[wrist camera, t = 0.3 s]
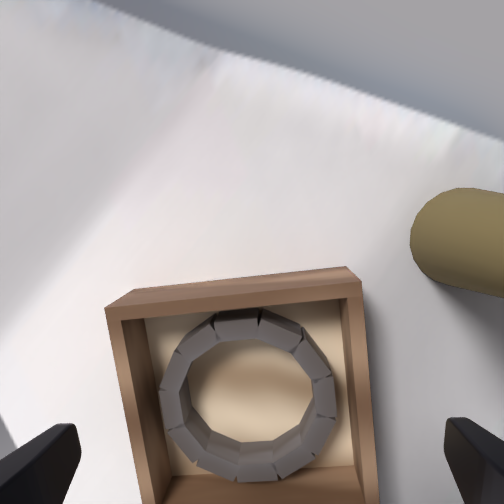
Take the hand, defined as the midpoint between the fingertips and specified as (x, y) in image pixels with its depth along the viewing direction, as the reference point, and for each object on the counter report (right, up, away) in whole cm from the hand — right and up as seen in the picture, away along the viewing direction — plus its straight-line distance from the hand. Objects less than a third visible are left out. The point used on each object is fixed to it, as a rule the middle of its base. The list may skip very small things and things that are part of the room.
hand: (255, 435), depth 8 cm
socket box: (0, -4, +15) cm, 16 cm away
